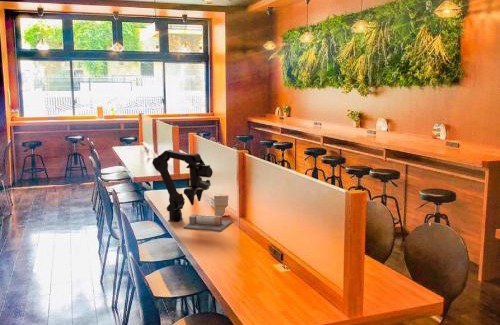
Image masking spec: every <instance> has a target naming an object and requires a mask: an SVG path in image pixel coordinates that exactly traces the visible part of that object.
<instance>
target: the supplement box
mask: <svg viewBox="0 0 500 325" xmlns="http://www.w3.org/2000/svg"><path fill="white" fill-rule="evenodd" d="M227 194H228V193H214V195H213V203H214V204H213V205H214V216H223V215H224V213H225V208H226V207H227V206H228V200H229V194H228V195H227Z"/></svg>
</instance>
